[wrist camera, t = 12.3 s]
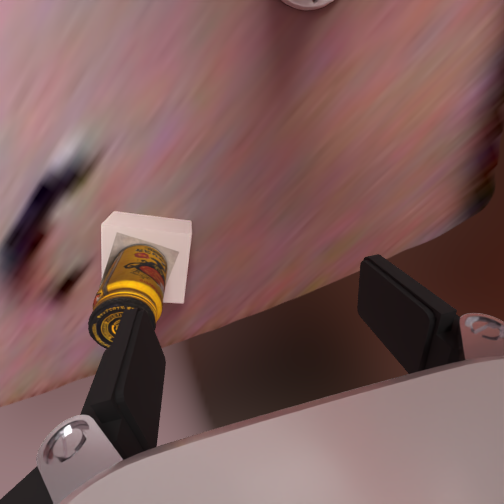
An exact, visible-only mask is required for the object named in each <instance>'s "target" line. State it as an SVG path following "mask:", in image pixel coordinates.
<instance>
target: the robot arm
mask: <svg viewBox="0 0 504 504" xmlns="http://www.w3.org/2000/svg"><path fill="white" fill-rule="evenodd" d="M281 1H283V2H284V3H285V4H287V5H289V6H291V7H293V8H296V9H301V10H315V9H319V8H322V7H324V6H326V5H328V4H329V3H331V2H333V1H334V0H314V2H313V1H312V0H281ZM456 311H457V310H456V309H454V308H453V307H451V306H450V305H449V304H447V303H446V302H444V301H443V300H442V299H440V298H439V297H437V296H436V295H435V294H433V293H432V292H430V291H429V290H428V289H426V288H425V287H424V286H422V285H421V284H420V283H418V282H417V281H415V280H414V279H413V278H411V277H410V276H408V275H407V274H405V273H404V272H403V271H402V270H400V269H399V268H397V267H396V266H395V265H393V264H392V263H390V262H389V261H388V260H386V259H385V258H383V257H382V256H381V255H379V254H378V255H372V256H368V257H365V258H364V260H363V261H362V262H361V265H360V279H359V293H358V313H359V315H360V317H361V318H362V319H363V320H364V322H365V323H366V324H367V325H368V326H369V327H370V328H371V330H372V331H373V332H374V333H375V334H376V335H377V337H378V338H379V339H380V340H381V341H382V342H383V344H384V345H385V346H386V347H387V349H388V350H389V351H390V352H391V353H392V354H393V355H394V357H395V358H396V359H397V360H398V361H399V363H400V364H401V365H402V366H403V367H404V368H405V370H406V371H407V372H408V373H409V374H408V375H404V376H400V377H397V378H393V379H390V380H386V381H383V382H379V383H375V384H371V385H368V386H364V387H361V388H357V389H353V390H350V391H346V392H343V393H339V394H336V395H332V396H328V397H325V398H322V399H318V400H314V401H311V402H307V403H304V404H300V405H297V406H293V407H289V408H286V409H282V410H279V411H275V412H272V413H269V414H265V415H262V416H258V417H255V418H251V419H248V420H244V421H241V422H237V423H234V424H231V425H227V426H223V427H220V428H216V429H213V430H210V431H206V432H203V433H200V434H197V435H193V436H190V437H187V438H184V439H180V440H177V441H174V442H170V443H167V444H164V445H161V446H158V447H156V446H157V438H158V428H159V420H160V410H161V402H162V393H163V384H164V383H163V382H164V375H165V364H166V362H165V356H164V354H163V351H162V349H161V346H160V344H159V341H158V339H157V336H156V334H155V331H154V329H153V326H152V324H151V321H150V319H149V316H148V314H147V311H146V310H141V309H140V308H139V307H138V308H134V309H129V310H125V311H124V312H123V314H122V317H121V319H120V322H119V325H118V328H117V331H116V333H115V336H114V339H113V342H112V344H111V347H110V348H108V349H106V350H105V352H104V354H103V356H102V359H101V362H100V364H99V367H98V370H97V372H96V375H95V378H94V380H93V383H92V385H91V388H90V391H89V393H88V396H87V399H86V401H85V404H84V406H83V409H82V412H81V414H80V415H79V416H74V417H72V418H70V419H67V420H66V421H64V422H63V423H61V424H60V425H58V426H57V427H56V428H55V429H54V430H53V431H52V432H51V433H50V434H49V435H48V436H47V437H46V439H45V440H44V441H43V443H42V445H41V447H40V448H39V450H38V454H37V458H36V461H37V467H36V468H35V469H34V470H32V471H31V472H30V473H29V474H28V475H27V476H26V477H25V478H24V479H23V480H22V481H20V482H19V483H18V484H17V485H16V486H15V487H14V488H13V489H12V490H11V491H9V492H8V493H7V494H6V495H5V496H4V497H3V498H2V499H1V500H0V504H504V322H502V321H501V320H499V319H497V318H495V317H492V316H489V315H485V314H479V313H469V314H465V315H463V316H462V317H461V318H460V317H459V316H458V315H456Z"/></svg>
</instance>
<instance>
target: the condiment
mask: <svg viewBox="0 0 504 504" xmlns="http://www.w3.org/2000/svg"><path fill="white" fill-rule="evenodd" d="M178 254H179V252H178V251H175V250H172V249H169V248H166V247H163V246H160V245H157V244H154V243H151V242H147V241H144V240H141V239H138V238H134V237H130V236H127V235H124V234H121V233H118V232H117V233H116V236H115V240H114V243H113V246H112V249H111V253H110V256H109V259H108V262H107V265H106V268H105V271H104V275H103V278H102V281H101V284H100V287H99V290H98V292H97V294H96V297H95V299H94V303H93V312H92V314H91V316H90V318H89V322H88V325H89V328H88V329H89V333H90V336H91V337H92V338H93V339H94V340H95V341H96V342H97V343H98V344H99V345H101V346H102V347H104V348H106V349H108V348H110V347H111V344H112V342H113V339H114V336H115V333H116V331H117V328H118V325H119V322H120V319H121V317H122V314H123V312H124V311H125V310H129V309H134V308H138V307H139V308H140V309H141V310H146V311H147V314H148V316H149V319H150V321H151V324H152V326H153V329H154V330H155V328H156V322H157V320H158V319H159V317H160V315H161V313H162V308H163V298H164V292H165V286H166V284H167V281H168V279H169V276H170V274H171V271H172V269H173V266H174V264H175V261H176V258H177V256H178Z"/></svg>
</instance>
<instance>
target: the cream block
mask: <svg viewBox="0 0 504 504" xmlns="http://www.w3.org/2000/svg"><path fill="white" fill-rule="evenodd" d="M117 232H118V233H121V234H124V235H127V236H130V237H134V238H138V239H141V240H144V241H147V242H151V243H154V244H157V245H160V246H163V247H166V248H169V249H172V250H175V251H178V252H179V254H178V256H177V258H176V261H175V264H174V266H173V269H172V271H171V274H170V276H169V279H168V281H167V284H166V286H165V292H164V298H163V303H184V295H185V287H186V279H187V271H188V262H189V254H190V246H191V237H192V224H191V221H188V220H180V219H173V218H165V217H157V216H149V215H141V214H133V213H125V212H117V211H114V212H113V213H112V214H111V215H110V216H109V217H108V218H107V219H106V220H105V221H104V222H103V223H102V224H101V255H102V278H103V275H104V271H105V268H106V265H107V262H108V259H109V256H110V253H111V249H112V246H113V243H114V240H115V236H116V233H117Z"/></svg>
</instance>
